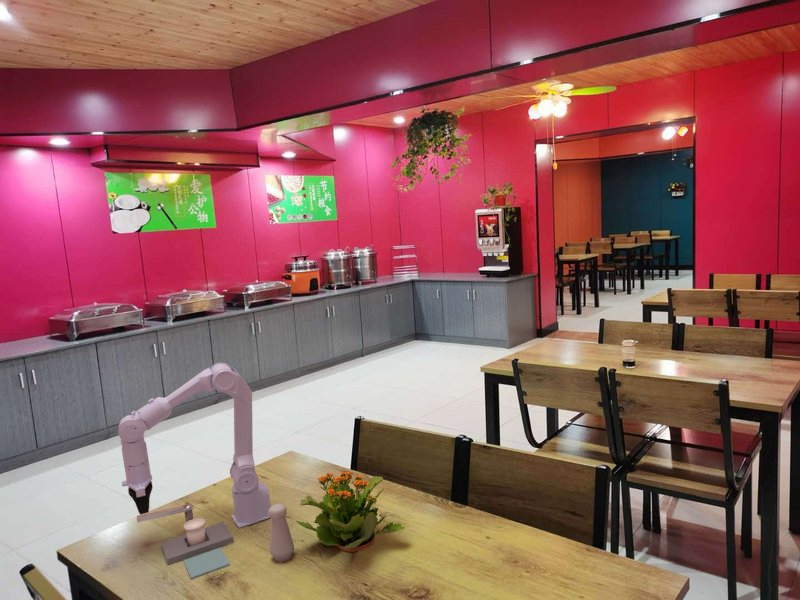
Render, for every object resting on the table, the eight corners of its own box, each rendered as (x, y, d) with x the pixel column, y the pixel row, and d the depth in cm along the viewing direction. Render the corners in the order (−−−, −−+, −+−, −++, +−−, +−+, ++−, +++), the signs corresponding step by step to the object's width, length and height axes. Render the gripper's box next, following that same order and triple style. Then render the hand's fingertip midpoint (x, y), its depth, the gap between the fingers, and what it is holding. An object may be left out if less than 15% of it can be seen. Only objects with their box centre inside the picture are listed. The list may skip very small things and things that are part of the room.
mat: (220, 548, 146) (220, 547, 146) (229, 565, 138) (229, 563, 138) (183, 561, 141) (183, 560, 141) (191, 579, 133) (190, 577, 133)
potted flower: (421, 526, 148) (416, 461, 146) (380, 580, 127) (372, 505, 125) (338, 513, 159) (331, 453, 156) (287, 561, 137) (278, 491, 135)
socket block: (223, 526, 157) (223, 521, 157) (233, 542, 148) (232, 536, 148) (161, 547, 149) (160, 542, 149) (167, 565, 140) (167, 559, 140)
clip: (192, 506, 156) (192, 502, 156) (192, 510, 154) (192, 506, 154) (138, 519, 152) (137, 515, 152) (137, 523, 149) (136, 519, 149)
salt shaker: (289, 564, 136) (283, 512, 134) (266, 563, 137) (260, 512, 136) (298, 550, 142) (292, 500, 140) (276, 550, 143) (270, 500, 141)
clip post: (194, 529, 157) (191, 507, 156) (195, 532, 155) (192, 510, 154) (186, 531, 156) (183, 510, 155) (188, 535, 154) (185, 513, 153)
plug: (205, 537, 152) (202, 515, 151) (210, 545, 148) (207, 523, 147) (185, 544, 149) (182, 522, 149) (189, 553, 145) (185, 530, 144)
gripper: (119, 457, 152) (126, 505, 154) (119, 476, 139) (127, 529, 141) (147, 450, 155) (155, 498, 157) (150, 468, 142) (158, 520, 144)
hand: (144, 512), depth 149 cm, fingers closed
